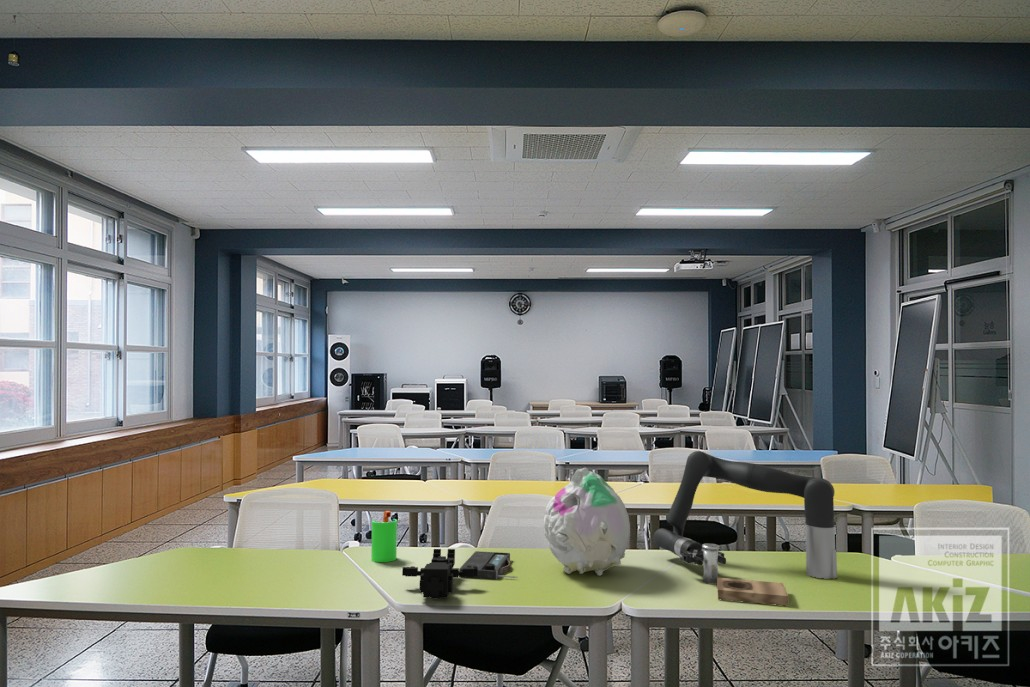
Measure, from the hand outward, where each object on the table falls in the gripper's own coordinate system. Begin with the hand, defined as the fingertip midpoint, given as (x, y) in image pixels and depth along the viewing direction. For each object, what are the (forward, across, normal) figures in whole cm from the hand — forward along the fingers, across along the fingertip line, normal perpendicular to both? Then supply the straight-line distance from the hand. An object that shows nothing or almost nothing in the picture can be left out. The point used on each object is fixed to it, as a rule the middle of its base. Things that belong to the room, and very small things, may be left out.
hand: (713, 561), depth 220 cm
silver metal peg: (-2, 0, +7) cm, 7 cm away
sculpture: (-23, -36, +7) cm, 43 cm away
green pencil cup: (-53, -104, +7) cm, 117 cm away
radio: (-32, -67, +8) cm, 75 cm away
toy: (-13, -89, +7) cm, 91 cm away
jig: (+15, +4, +7) cm, 17 cm away
